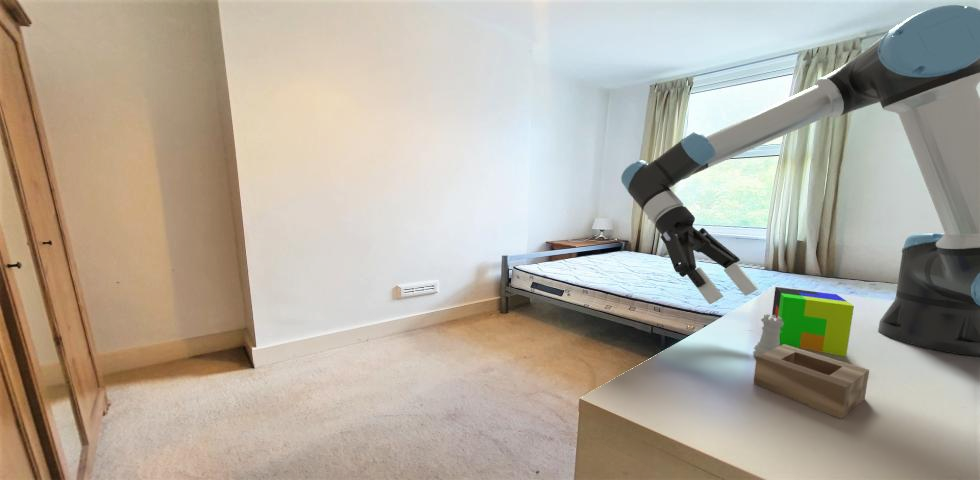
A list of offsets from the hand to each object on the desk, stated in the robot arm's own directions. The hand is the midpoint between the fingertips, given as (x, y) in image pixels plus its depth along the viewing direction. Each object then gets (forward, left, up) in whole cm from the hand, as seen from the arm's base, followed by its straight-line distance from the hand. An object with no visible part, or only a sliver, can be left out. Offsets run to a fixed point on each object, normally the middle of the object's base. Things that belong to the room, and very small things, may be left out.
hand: (735, 296), depth 66 cm
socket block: (+7, +14, -10) cm, 19 cm away
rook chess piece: (-1, +6, -10) cm, 12 cm away
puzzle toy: (-18, +6, -11) cm, 21 cm away
